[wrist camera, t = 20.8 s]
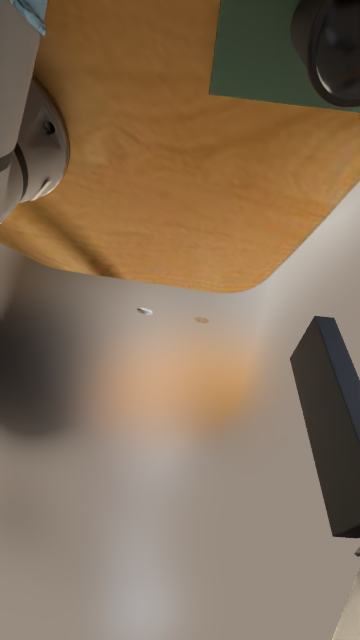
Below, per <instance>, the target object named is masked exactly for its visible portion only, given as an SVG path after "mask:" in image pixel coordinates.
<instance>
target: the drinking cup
mask: <svg viewBox="0 0 360 640" xmlns="http://www.w3.org/2000/svg"><path fill="white" fill-rule="evenodd" d="M290 37H291V42H292V45H293V47H294V48H295V50H296V52H297V53H298V55H299V57H300V58H301V60H302V62H303V63H304V65H305V67H306V68H307V73H308V77H309V80H310V82H311V85H312V87H313V88H314V90H315V91H316V93H317V94H318V95H319V96H320V97H321V98H322V99H323V100H324V101H326V102H328V103H329V104H331V105H334V106H337V107H342V108H353V107H359V106H360V0H301V1H300V2H299V4H298V5H297V7H296V9H295V11H294V14H293V17H292V20H291V26H290Z"/></svg>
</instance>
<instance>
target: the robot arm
mask: <svg viewBox="0 0 360 640" xmlns="http://www.w3.org/2000/svg"><path fill="white" fill-rule="evenodd" d="M47 3H48V0H0V224H1V223H2V222H3V221H4V220H5V218H6V217H7V216H8V215H9V214H10V213H11V212H12V210H13V209H14V208H15V207H16V206H17V205H18V203H22V202H25V201H28V200H31V201H33V200H36V199H37V198H39V197H42V196H44V195H46V194H48V193H49V192H50V191H52V190H53V189H54V188H55V187H56V186H57V184H58V183H59V182H60V180H61V179H62V178H63V176H64V174H65V172H66V170H67V167H68V163H69V157H70V143H69V136H68V132H67V128H66V125H65V122H64V119H63V117H62V114H61V112H60V110H59V108H58V106H57V105H56V103H55V101H54V100H53V98H52V97H51V95H50V94H49V92H48V91H47V90H46V88H45V87H44V86H43V85H42V84H41V82H40V81H39V80H38V79H37V78H36V77H35V76H34V75H33V74H32V73H33V69H34V65H35V60H36V56H37V52H38V47H39V43H40V38H41V35H42V36H45V33H46V26H45V23H44V19H45V13H46V8H47ZM290 361H291V365H292V369H293V373H294V377H295V382H296V386H297V390H298V394H299V398H300V403H301V407H302V411H303V415H304V419H305V423H306V428H307V432H308V436H309V440H310V444H311V448H312V452H313V457H314V460H315V465H316V469H317V473H318V477H319V481H320V486H321V490H322V494H323V498H324V502H325V506H326V510H327V514H328V519H329V523H330V527H331V531H332V535H333V536H334V537H346V538H360V380H359V377H358V375H357V373H356V370H355V368H354V365H353V363H352V360H351V358H350V355H349V353H348V351H347V348H346V346H345V343H344V341H343V338H342V336H341V333H340V331H339V329H338V326H337V324H336V321H335V319H334V318H330V317H320V316H314V318H313V320H312V321H311V323H310V325H309V327H308V328H307V330H306V332H305V334H304V335H303V337H302V339H301V340H300V342H299V344H298V346H297V347H296V349H295V351H294V352H293V354H292V356H291V357H290ZM355 555H357V556H360V548H358V549H357V551H356V552H355ZM332 640H360V569H359V572H358V574H357V577H356V580H355V582H354V585H353V587H352V590H351V592H350V595H349V597H348V600H347V602H346V605H345V607H344V610H343V613H342V615H341V618H340V620H339V623H338V625H337V628H336V630H335V633H334V636H333V638H332Z"/></svg>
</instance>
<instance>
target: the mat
mask: <svg viewBox="0 0 360 640" xmlns="http://www.w3.org/2000/svg"><path fill="white" fill-rule="evenodd" d="M300 1H301V0H221V4H220V12H219V20H218V27H217V35H216V43H215V51H214V58H213V66H212V74H211V81H210V89H209V95H218V96H226V97H234V98H242V99H251V100H259V101H267V102H275V103H284V104H292V105H300V106H308V107H317V108H325V109H333V110H341V111H350V112H358V113H360V106H359V107H353V108H342V107H337V106H334V105H331V104H329V103H328V102H326V101H324V100H323V99H322V98H321V97H320V96H319V95H318V94H317V93H316V91H315V90H314V88H313V87H312V85H311V82H310V80H309V77H308V73H307V68H306V67H305V65H304V63H303V62H302V60H301V58H300V57H299V55H298V53H297V52H296V50H295V48H294V47H293V45H292V42H291V37H290V26H291V20H292V17H293V14H294V11H295V9H296V7H297V5H298V4H299V2H300Z"/></svg>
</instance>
